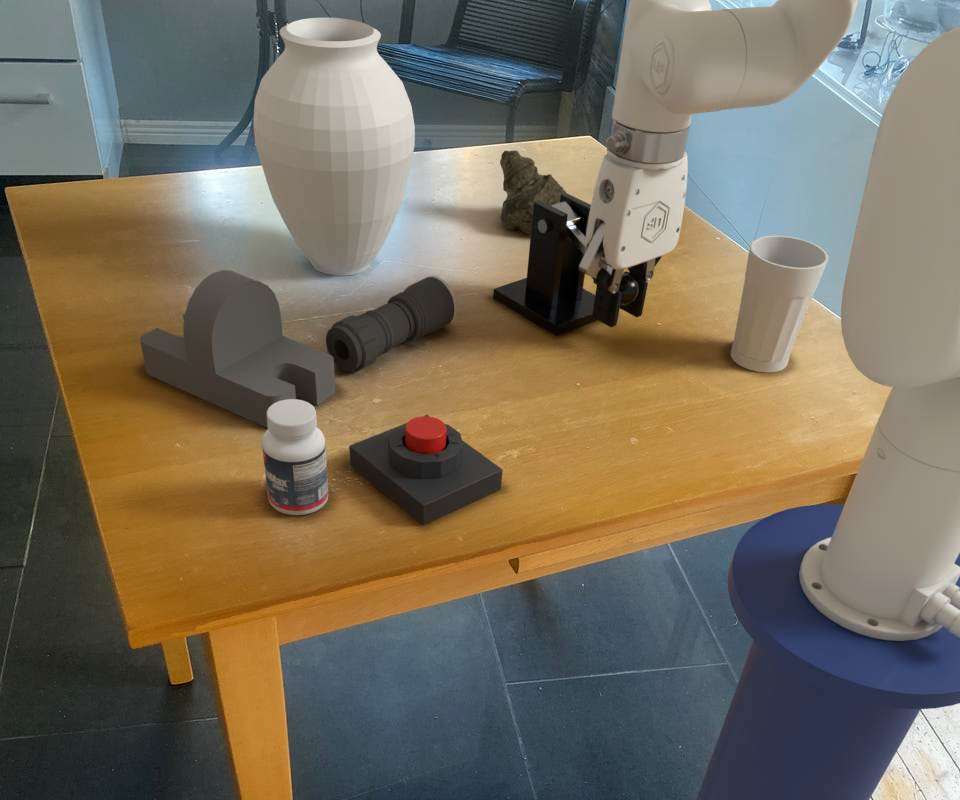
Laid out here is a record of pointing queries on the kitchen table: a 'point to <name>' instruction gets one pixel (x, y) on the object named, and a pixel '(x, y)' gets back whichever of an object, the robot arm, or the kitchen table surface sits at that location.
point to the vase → (334, 141)
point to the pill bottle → (294, 458)
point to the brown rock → (525, 190)
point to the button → (425, 435)
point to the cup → (775, 300)
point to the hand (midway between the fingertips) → (617, 315)
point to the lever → (628, 281)
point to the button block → (425, 473)
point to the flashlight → (391, 323)
